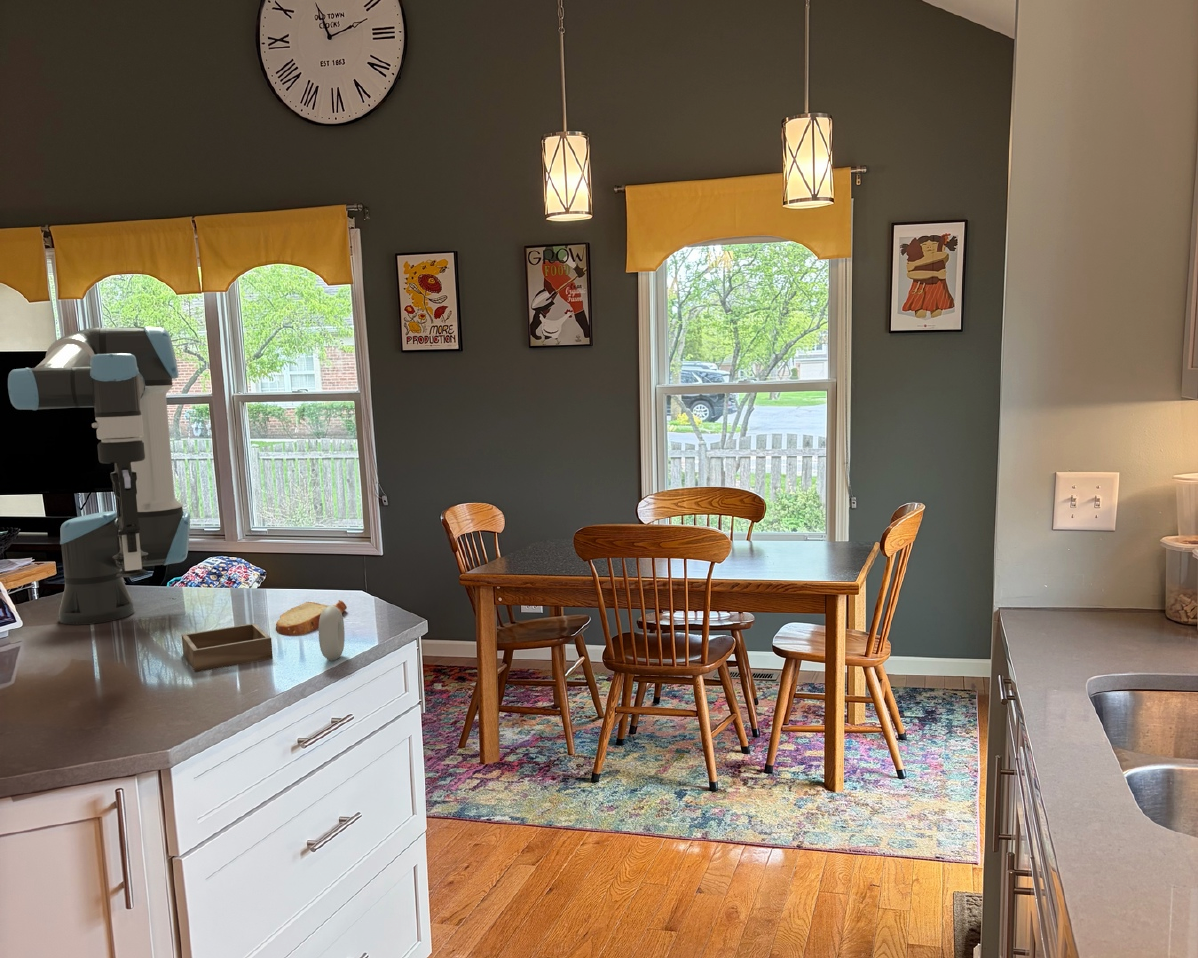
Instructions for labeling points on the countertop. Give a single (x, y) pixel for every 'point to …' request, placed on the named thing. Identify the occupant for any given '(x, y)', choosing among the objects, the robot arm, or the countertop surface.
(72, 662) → the countertop surface
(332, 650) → the donut
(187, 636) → the box
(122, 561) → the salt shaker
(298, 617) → the slice of bread
